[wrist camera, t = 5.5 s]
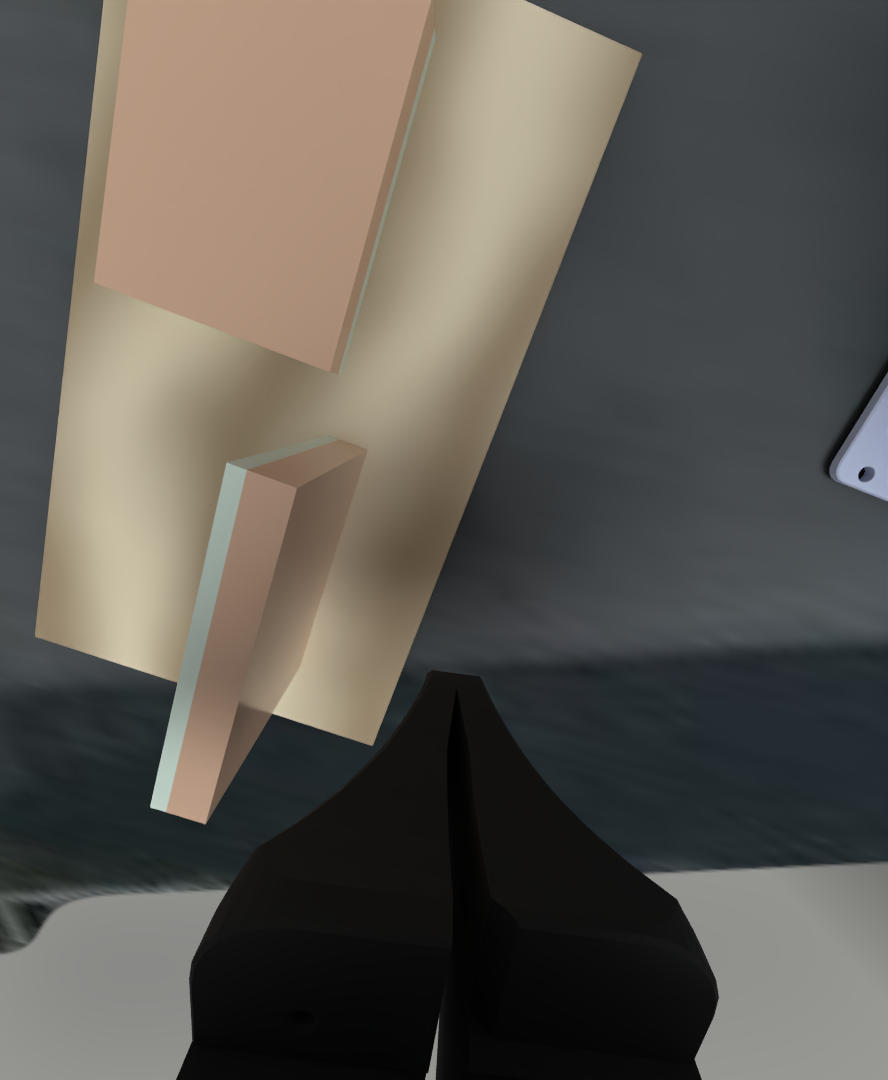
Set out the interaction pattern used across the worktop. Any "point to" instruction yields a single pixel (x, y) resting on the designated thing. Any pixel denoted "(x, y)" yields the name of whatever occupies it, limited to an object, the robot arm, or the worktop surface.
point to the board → (323, 397)
